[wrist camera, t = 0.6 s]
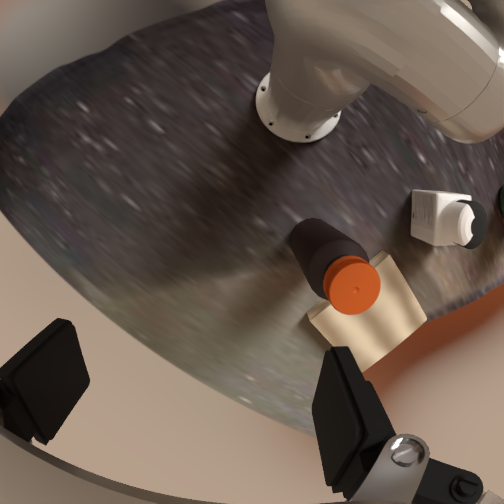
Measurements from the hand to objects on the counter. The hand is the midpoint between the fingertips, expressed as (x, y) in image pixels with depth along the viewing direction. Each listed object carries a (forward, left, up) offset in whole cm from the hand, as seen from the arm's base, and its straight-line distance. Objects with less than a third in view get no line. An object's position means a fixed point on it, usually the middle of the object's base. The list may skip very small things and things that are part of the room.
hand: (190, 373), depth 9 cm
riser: (-6, +26, -34) cm, 43 cm away
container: (-25, +19, -34) cm, 46 cm away
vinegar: (-6, +9, -34) cm, 35 cm away
